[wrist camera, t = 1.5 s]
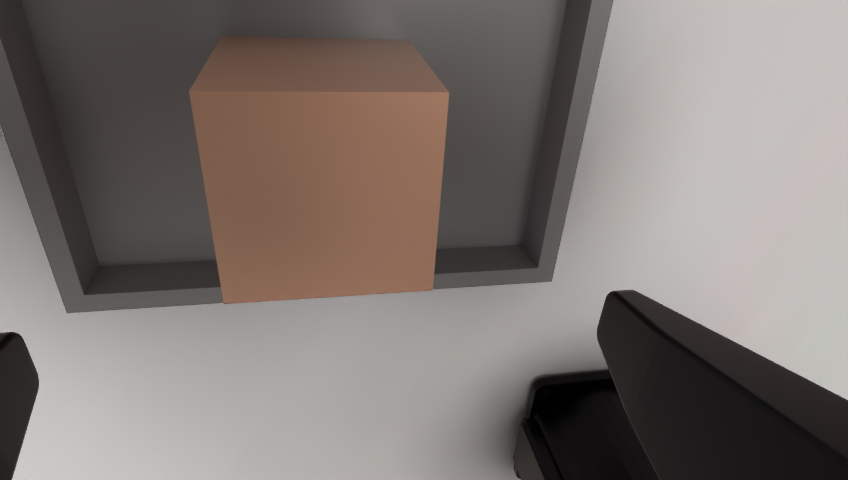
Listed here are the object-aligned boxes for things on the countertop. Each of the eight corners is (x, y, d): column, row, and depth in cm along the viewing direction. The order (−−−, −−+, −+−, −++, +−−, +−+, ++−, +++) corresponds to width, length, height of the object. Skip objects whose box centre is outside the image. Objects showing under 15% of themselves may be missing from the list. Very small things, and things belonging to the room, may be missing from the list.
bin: (589, -57, 15) (624, -51, 14) (531, 250, 21) (551, 281, 19) (-26, -94, 13) (-76, -93, 11) (88, 274, 18) (66, 312, 16)
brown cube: (408, 39, 15) (449, 92, 11) (402, 199, 18) (432, 290, 14) (221, 36, 14) (188, 91, 10) (242, 204, 17) (223, 303, 13)
